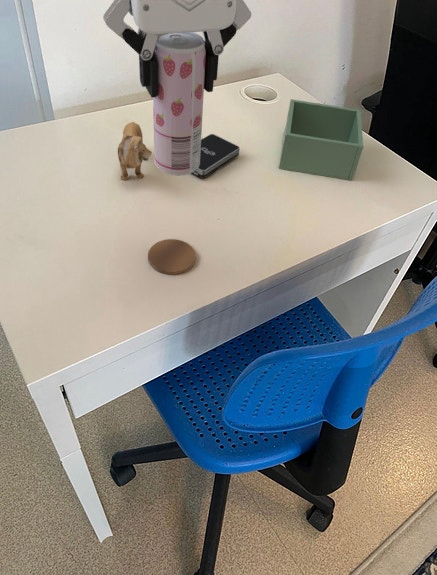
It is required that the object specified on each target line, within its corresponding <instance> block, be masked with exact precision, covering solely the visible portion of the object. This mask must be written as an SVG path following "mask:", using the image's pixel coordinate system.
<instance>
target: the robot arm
mask: <svg viewBox="0 0 437 575" xmlns="http://www.w3.org/2000/svg"><path fill="white" fill-rule="evenodd" d="M128 13H129V14H130V15H131V16H132V17H133V20H134V23H135V25H136V26H137V28H138V29H137V32H136V30H134V28H132V27H131V26H130V25H129V24H128V23H126V22H125V21H124V20H125V17H126V16H127V14H128ZM102 17H103V21H104V23H105V25H106V26H107V27H108V28H109V29H110V30H111V31H112V32H113V33H115V34H116V35H117V36H118V37H120V38H121V39H122V40H123V41H124V43H125V44H127V45H128V46H129V47H130V48H131V49H132V50H133V51H134V52H136V53H137V55H138V67H139V68H138V70H139V81H140V85H141V87H142V88H145V89H146V90H147V93H148V94H149V96H150V98H151V99H153V97H157V96H158V61H157V59H156V58H155V56H154V49H155V46H156V43H157V40H158V37H159V34H170V33H188V32H193V33H201V32H202V38H203V39H204V41H205V49H206V58H205V77H204V91H205V92H207V93H213V91H214V82H215V81H217V80H218V70H219V58H220V57H219V56H220V55H222V54H223V53H224V49H225V47H226V45H228V43H229V42H231V41H232V39H233V38H234V37H235V36H236V34H237V31H239V30H241V28H242V27H244V25H245V24H246V23H247V22H248V21H250V20H251V17H252V12H251V10H250V8H249V7H248V6H247V4H246V2H245V1H244V0H113V1H112V3H111V4H110V6H109V7H108V8H107V10H106V11H105V12H104V14H103V16H102Z"/></svg>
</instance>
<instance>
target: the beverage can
mask: <svg viewBox="0 0 437 575" xmlns="http://www.w3.org/2000/svg"><path fill="white" fill-rule="evenodd" d="M154 56H155V58H156V59H157V61H158V96H157V97H153V98H152V104H153V105H152V107H153V159H154V160H153V161H154V165H155V166H156V167H157V168H158V169H159V170H160V171H161V172H162V173H164V174H167V175H169V176H176V177H179V176H181V177H182V176H187V175H189V174H193V173H192V172H193V171H195V170H196V169H197V168H198V167H199V165H200V152H201V139H202V134H203V132H202V130H203V112H204V94H205V93H204V91H205V89H204V77H205V58H206V49H205V40H204V37H203V36H201V35H200V34H198V33H197V32H188V33H170V34H159V37H158V40H157V43H156V46H155V49H154Z"/></svg>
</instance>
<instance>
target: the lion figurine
mask: <svg viewBox="0 0 437 575" xmlns="http://www.w3.org/2000/svg"><path fill="white" fill-rule="evenodd" d="M121 138H122V139H121V140H120V143H119V144H118V147H117V156H118V161H119V166H120V170H121V175H120V179H121V180H122V181H127V180H128V179H129V173H128V169H134V174H135V177H136V179H142V178H144V174H143V173H142V170H141V168H142V164H143V161H144V162H145V163H146V162H149V158H150V157H151V156H152V154H153V151H151V150H150V149H149V148H148V147H147V146H146V144H145V143H144V140H143V139H144V138H143V131H142V128H141V126H140V124H138V123H136V122H134V121H131V122H128V123H127V124H126V125H125V126H124V128H123V131H122V137H121Z"/></svg>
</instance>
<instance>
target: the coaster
mask: <svg viewBox="0 0 437 575" xmlns="http://www.w3.org/2000/svg"><path fill="white" fill-rule="evenodd" d="M196 255H197V254H196V251H195V249H194V248H193V246H191V244H189V243H188V242H186V241H183V240H180V239H177V238H168V239H167V238H166V239H162V240H160V241H157V242H156V243H154V244H152V246H150V248H149V250H148V253H147V260H148V263H149V265H150V266H151V268H152V269H154V270H155V271H156V272H158V273H160V274H164V275H169V276H170V275H172V276H173V275H180V274H184V273H186V272H188V271H189V270H190V269H192V268H193V267H194V265H195V263H196V257H197V256H196Z"/></svg>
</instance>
